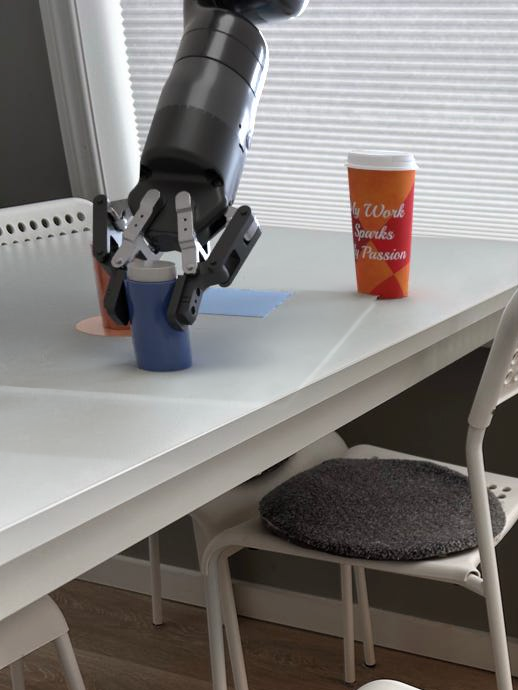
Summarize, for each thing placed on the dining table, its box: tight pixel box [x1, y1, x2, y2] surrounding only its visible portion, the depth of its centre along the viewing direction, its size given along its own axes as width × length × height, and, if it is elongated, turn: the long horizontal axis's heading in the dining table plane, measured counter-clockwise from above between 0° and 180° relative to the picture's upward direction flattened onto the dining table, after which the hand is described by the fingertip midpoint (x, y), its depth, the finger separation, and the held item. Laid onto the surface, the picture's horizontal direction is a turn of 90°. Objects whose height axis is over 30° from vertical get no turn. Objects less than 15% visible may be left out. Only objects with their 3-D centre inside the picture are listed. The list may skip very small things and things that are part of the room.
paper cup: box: [343, 149, 420, 300], centre depth 102 cm, size 8×8×14 cm
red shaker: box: [88, 230, 135, 330], centre depth 85 cm, size 4×4×8 cm
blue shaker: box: [123, 259, 194, 373], centre depth 75 cm, size 4×4×8 cm
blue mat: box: [197, 286, 295, 318], centre depth 97 cm, size 14×12×1 cm
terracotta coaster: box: [75, 315, 132, 338], centre depth 87 cm, size 9×9×1 cm
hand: (146, 321), depth 73 cm, fingers closed on blue shaker, 4 cm apart
